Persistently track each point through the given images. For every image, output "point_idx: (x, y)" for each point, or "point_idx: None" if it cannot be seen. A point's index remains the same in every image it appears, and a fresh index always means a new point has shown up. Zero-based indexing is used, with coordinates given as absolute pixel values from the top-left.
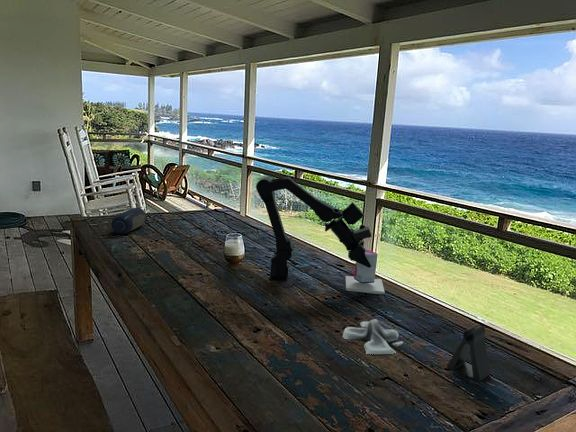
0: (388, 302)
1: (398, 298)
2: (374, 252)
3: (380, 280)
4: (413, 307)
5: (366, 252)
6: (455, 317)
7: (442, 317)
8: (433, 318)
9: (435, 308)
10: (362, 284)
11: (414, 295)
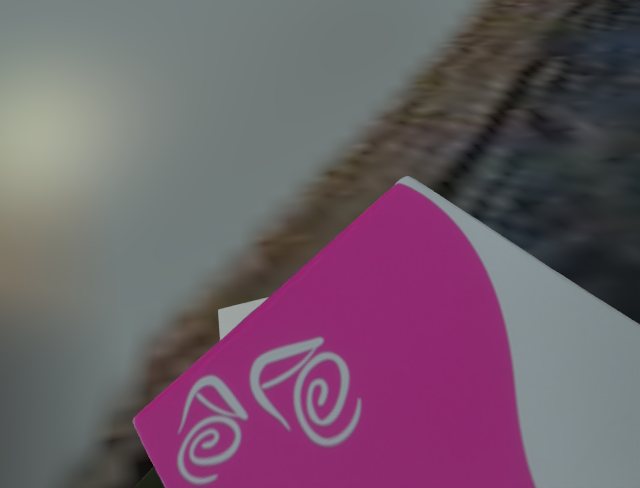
0: (576, 216)
1: (466, 183)
2: (341, 249)
3: (246, 311)
4: (539, 114)
5: (539, 463)
6: (517, 6)
7: (557, 30)
8: (600, 47)
9: (476, 56)
10: None
11: (367, 133)
